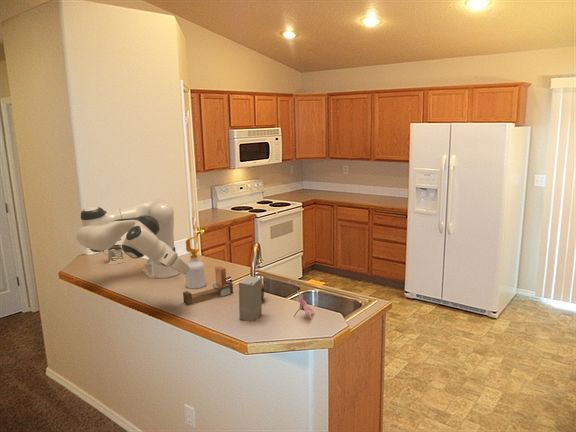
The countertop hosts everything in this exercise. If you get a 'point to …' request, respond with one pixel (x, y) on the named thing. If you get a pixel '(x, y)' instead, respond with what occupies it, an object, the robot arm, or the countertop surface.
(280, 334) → the countertop surface
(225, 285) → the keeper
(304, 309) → the lily
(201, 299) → the rail
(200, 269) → the soap bottle
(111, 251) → the french press
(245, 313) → the skincare box
